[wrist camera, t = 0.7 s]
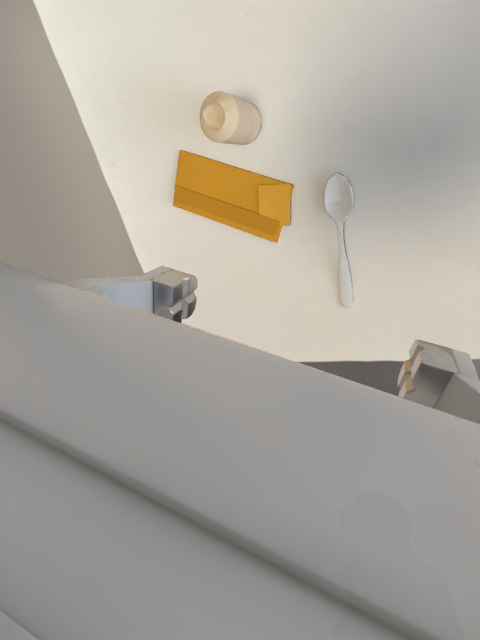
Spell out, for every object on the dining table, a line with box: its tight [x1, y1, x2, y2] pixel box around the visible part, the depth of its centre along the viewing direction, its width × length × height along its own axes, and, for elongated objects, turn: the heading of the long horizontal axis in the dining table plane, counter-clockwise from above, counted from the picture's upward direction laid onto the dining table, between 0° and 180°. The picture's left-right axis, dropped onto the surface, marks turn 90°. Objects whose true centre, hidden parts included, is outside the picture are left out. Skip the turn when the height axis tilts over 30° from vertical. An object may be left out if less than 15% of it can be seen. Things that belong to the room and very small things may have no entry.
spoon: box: [324, 173, 354, 308], centre depth 49 cm, size 4×21×2 cm, turn 12°
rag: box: [173, 150, 294, 243], centre depth 53 cm, size 9×21×1 cm, turn 76°
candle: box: [200, 92, 261, 145], centre depth 44 cm, size 6×6×10 cm
